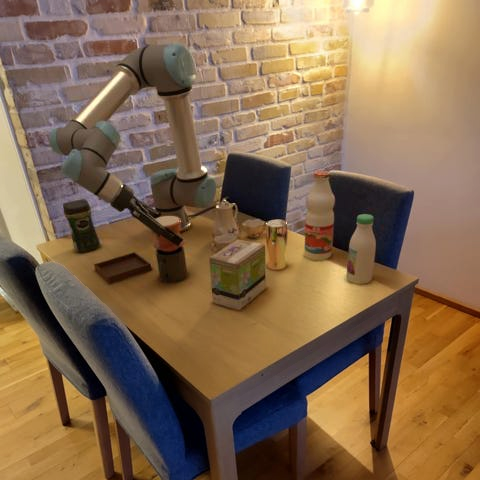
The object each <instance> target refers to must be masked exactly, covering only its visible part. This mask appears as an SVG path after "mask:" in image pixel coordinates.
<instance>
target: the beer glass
mask: <svg viewBox="0 0 480 480" xmlns="http://www.w3.org/2000/svg"><path fill="white" fill-rule="evenodd" d="M288 234H289V233H288V222H287V221H286V220H284V219H271V220H268V221H266V222H265V242H266V247H267V252H268V262H267V267H268V268H269V269H270V270H272V271H273V270H274V271H279V270H280V271H281V270H283V269H285V268H286V267H287V262H286V251H287V246H288V237H289V236H288Z"/></svg>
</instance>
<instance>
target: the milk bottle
mask: <svg viewBox="0 0 480 480" xmlns="http://www.w3.org/2000/svg"><path fill="white" fill-rule="evenodd" d="M374 220H375V218H374V216H373V215H372V214H368V213H362V214H359V215H357V217H356V228H355V230H354V232H353V234H352V236H351V238H350V240H349V243H348V244H349V245H348V254H347V265H346V280H347V281H348V282H350V283H353V284H358V285H364V284H368V283H370V282H371V281H372V279H373V275H374V266H375V258H376V246H377V241H376V236H375V234H374V231H373V225H374Z"/></svg>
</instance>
